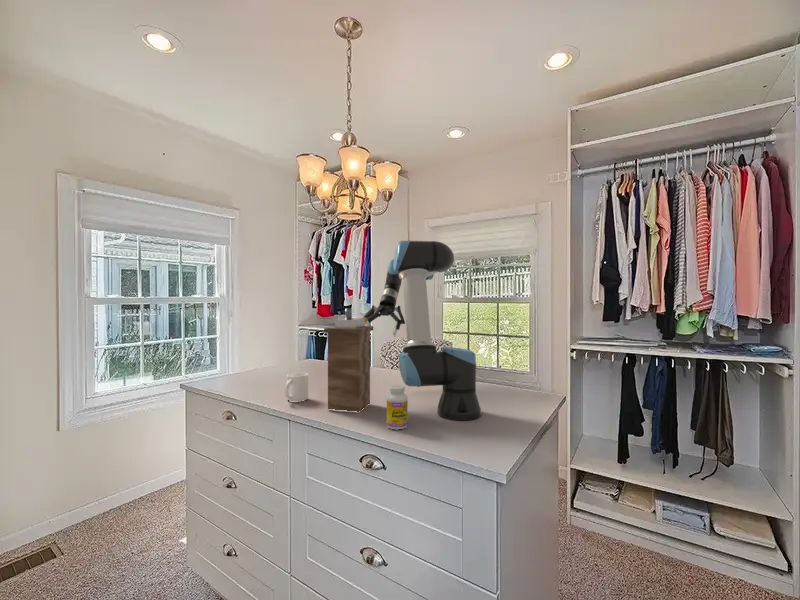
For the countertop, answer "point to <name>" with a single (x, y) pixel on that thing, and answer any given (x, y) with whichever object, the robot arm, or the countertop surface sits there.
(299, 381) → the mug
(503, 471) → the countertop surface
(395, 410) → the supplement bottle
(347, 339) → the post
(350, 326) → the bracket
